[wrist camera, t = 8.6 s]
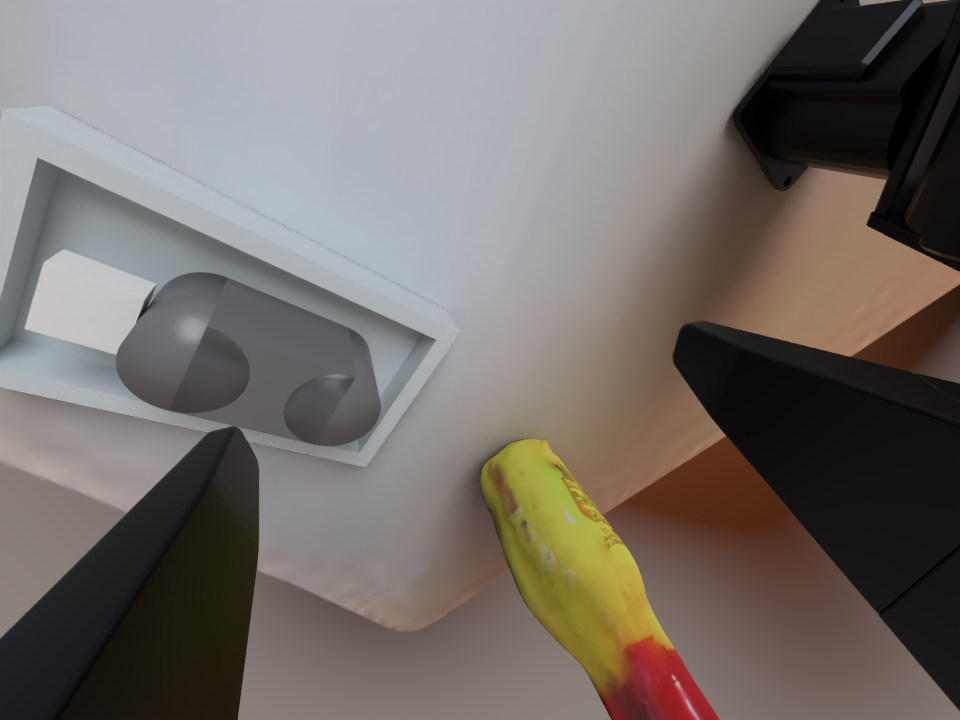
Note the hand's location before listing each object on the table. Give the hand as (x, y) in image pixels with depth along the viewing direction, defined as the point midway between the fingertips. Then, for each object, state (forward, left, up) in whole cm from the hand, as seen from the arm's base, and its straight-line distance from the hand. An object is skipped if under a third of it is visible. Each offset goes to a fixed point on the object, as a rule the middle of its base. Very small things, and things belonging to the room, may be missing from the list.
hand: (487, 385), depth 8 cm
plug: (+3, +7, -11) cm, 14 cm away
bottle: (-17, +11, -12) cm, 24 cm away
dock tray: (+3, +7, -12) cm, 14 cm away
